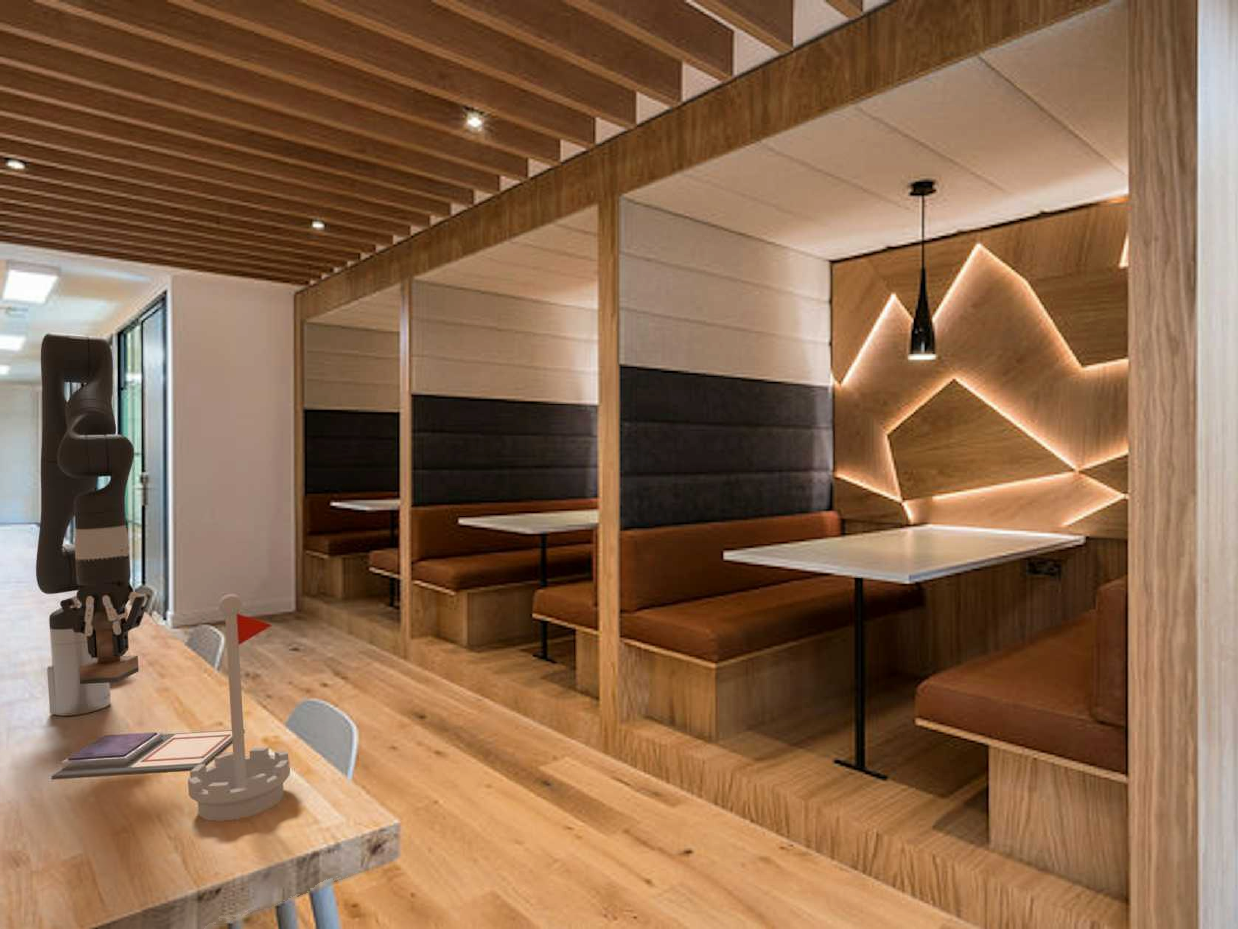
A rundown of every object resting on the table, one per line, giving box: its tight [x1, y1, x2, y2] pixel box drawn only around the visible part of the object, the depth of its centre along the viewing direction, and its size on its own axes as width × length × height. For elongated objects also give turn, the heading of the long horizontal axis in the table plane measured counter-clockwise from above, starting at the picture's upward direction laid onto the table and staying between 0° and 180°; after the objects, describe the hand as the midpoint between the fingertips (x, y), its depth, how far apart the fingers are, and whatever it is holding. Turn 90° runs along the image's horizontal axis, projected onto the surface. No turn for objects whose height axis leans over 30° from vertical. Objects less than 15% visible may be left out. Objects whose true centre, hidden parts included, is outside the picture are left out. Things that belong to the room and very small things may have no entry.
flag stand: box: [187, 593, 291, 822], centre depth 110 cm, size 13×13×30 cm
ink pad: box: [61, 731, 163, 770], centre depth 130 cm, size 10×11×2 cm
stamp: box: [79, 610, 140, 684], centre depth 129 cm, size 6×6×12 cm
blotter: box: [51, 729, 233, 779], centre depth 130 cm, size 23×16×1 cm
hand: (108, 655), depth 129 cm, fingers closed on stamp, 3 cm apart
